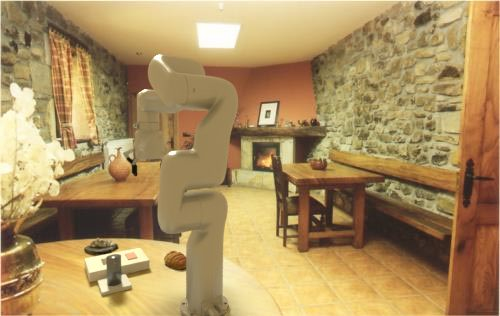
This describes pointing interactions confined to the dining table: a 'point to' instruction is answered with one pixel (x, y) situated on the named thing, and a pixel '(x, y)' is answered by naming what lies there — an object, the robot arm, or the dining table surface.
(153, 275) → the dining table surface
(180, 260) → the pastry
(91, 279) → the board
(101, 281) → the pad
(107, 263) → the peg
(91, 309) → the dining table surface
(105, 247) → the grey rounded lumpy piece
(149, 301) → the dining table surface
